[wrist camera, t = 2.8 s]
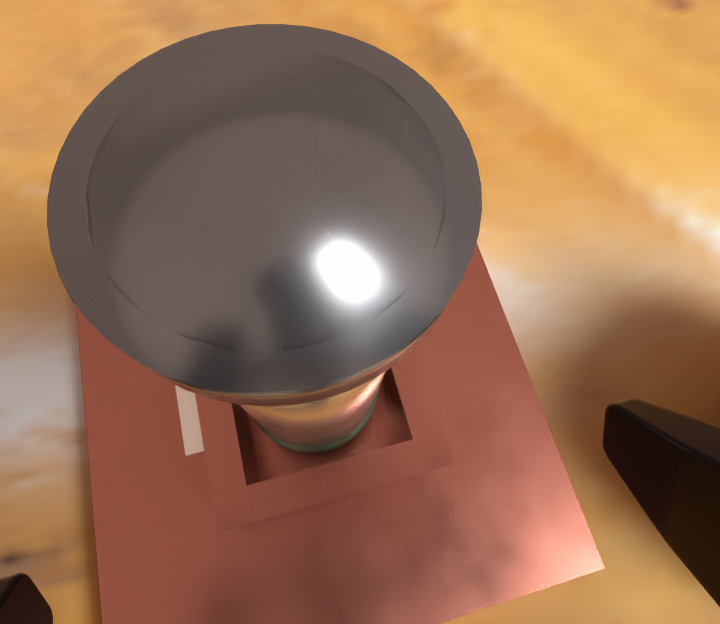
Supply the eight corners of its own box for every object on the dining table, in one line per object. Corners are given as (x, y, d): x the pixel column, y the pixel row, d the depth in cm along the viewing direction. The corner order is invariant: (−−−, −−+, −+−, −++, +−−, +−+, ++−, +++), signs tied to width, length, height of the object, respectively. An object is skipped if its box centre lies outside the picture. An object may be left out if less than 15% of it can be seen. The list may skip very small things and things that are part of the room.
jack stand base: (587, 563, 18) (660, 583, 14) (127, 715, 15) (56, 791, 12) (444, 192, 23) (467, 129, 19) (86, 267, 21) (27, 214, 17)
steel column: (398, 445, 17) (547, 325, 5) (262, 483, 17) (61, 450, 4) (361, 320, 19) (410, -1, 7) (236, 350, 18) (35, 56, 6)
